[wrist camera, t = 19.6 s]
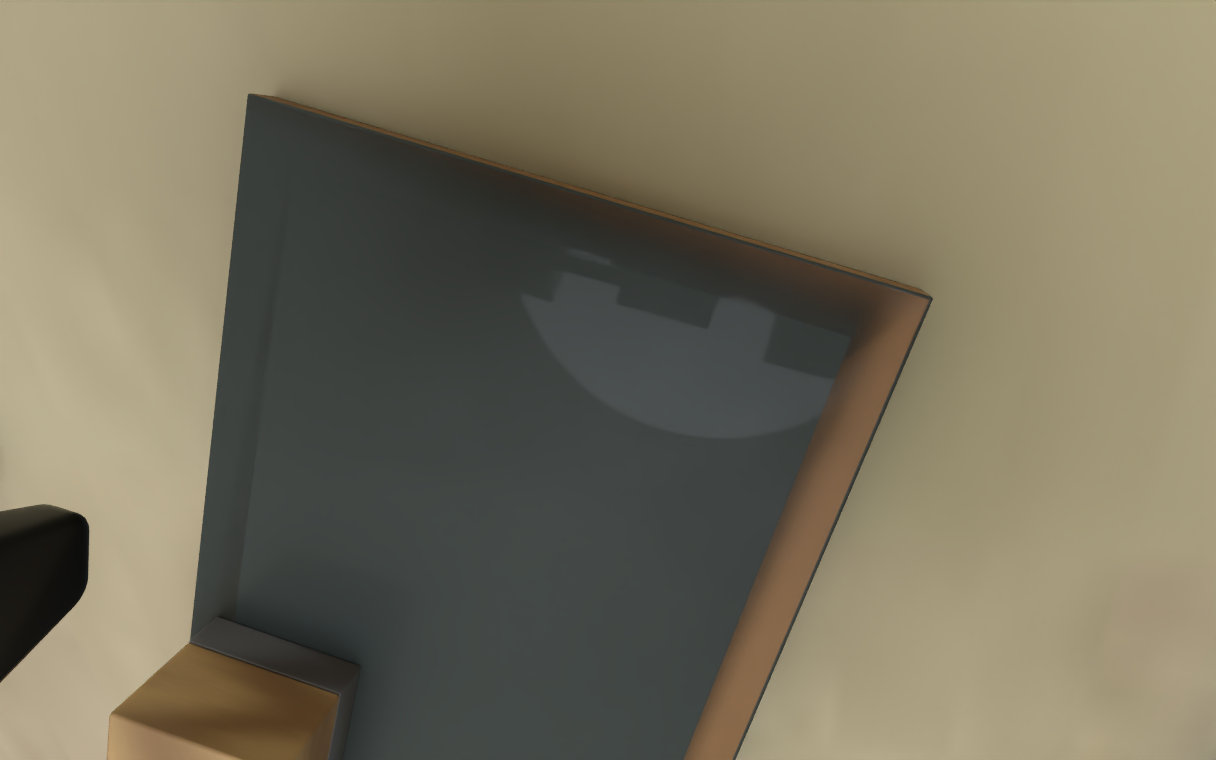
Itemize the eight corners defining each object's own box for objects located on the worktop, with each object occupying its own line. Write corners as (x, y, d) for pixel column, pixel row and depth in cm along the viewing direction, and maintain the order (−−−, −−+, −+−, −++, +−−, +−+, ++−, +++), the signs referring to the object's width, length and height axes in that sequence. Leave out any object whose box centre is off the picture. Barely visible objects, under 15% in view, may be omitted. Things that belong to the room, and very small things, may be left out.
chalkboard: (922, 289, 17) (934, 297, 16) (632, 977, 25) (628, 1010, 24) (272, 96, 18) (247, 92, 17) (189, 815, 26) (168, 840, 25)
